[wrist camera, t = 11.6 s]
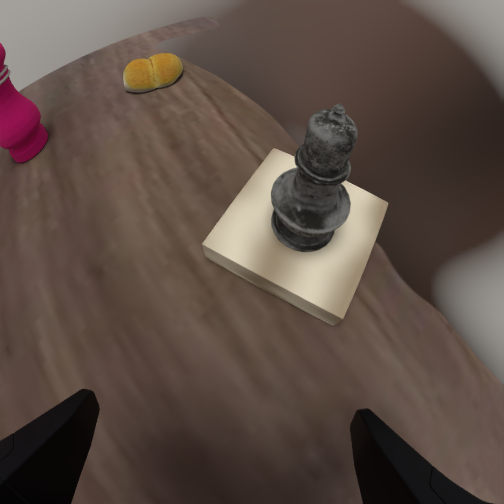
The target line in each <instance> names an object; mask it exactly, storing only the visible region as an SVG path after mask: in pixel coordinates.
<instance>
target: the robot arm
mask: <svg viewBox="0 0 504 504" xmlns="http://www.w3.org/2000/svg"><path fill="white" fill-rule="evenodd" d="M99 410H100V408H99V404H98V401H97V399H96V396H95V394H94V392H93V391H92V390H88V389H81V390H79V391H78V392H76V393H75V394H73V395H72V396H70V397H69V398H67V399H66V400H64V401H63V402H61V403H60V404H58V405H56V406H55V407H53V408H52V409H50V410H49V411H47V412H46V413H44V414H42V415H41V416H39V417H38V418H36V419H35V420H33V421H32V422H30V423H28V424H27V425H25V426H24V427H22V428H21V429H19V430H17V431H16V432H15V434H14V433H13V434H11V435H9V436H8V437H6V438H4V439H3V440H1V441H0V504H71V502H72V499H73V496H74V493H75V490H76V487H77V484H78V481H79V478H80V475H81V472H82V469H83V466H84V463H85V461H86V458H87V455H88V452H89V449H90V446H91V443H92V439H93V435H94V431H95V427H96V423H97V419H98V415H99ZM350 432H351V441H352V449H353V459H354V466H355V471H356V475H357V479H358V483H359V488H360V492H361V497H362V501H363V504H492V503H488V502H485V501H482V500H481V499H479V498H477V497H476V496H474V495H472V494H471V493H469V492H468V491H466V490H464V489H463V488H461V487H460V486H458V485H457V484H455V483H454V482H453V481H451V480H450V479H448V478H447V477H446V476H445V475H443V474H442V473H441V472H440V471H438V470H437V469H436V468H435V467H434V466H432V465H431V464H430V463H429V462H428V461H427V460H426V459H425V458H423V457H422V456H421V455H420V454H419V453H418V452H417V451H415V450H414V449H413V448H412V447H411V446H410V445H409V444H408V443H406V442H405V441H404V440H403V439H402V438H401V437H400V436H399V435H398V434H396V433H395V432H394V431H393V430H392V429H391V428H390V427H389V426H388V425H386V424H385V423H384V422H383V421H382V420H381V419H380V418H379V417H378V416H377V415H376V414H374V413H373V412H372V411H371V410H370V409H368V408H365V409H358V410H357V411H356V413H355V415H354V417H353V420H352V422H351V425H350Z"/></svg>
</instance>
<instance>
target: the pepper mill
mask: <svg viewBox="0 0 504 504" xmlns="http://www.w3.org/2000/svg"><path fill="white" fill-rule="evenodd" d="M5 55H6V54H5V49H4V47H3V46H2V44H1V43H0V146H1V147H2V148H5V149H9V152H10V155H11V156H12V157H13V159H14V160H15V161H16V162H18V163H22V162H26V161H28V160H30V159H31V158H33V157H34V156H35V155H36V154H38V153H39V152H40V150H41V149H42V148H43V147H44V145H45V144H46V142H47V139H48V133H47V131H46V130H45V128H44V126H43V125H42V124H40V118H41V115H40V111H39V110H38V108H37V107H36V105H35V104H34V103H33V102H32V101H30V100H29V99H27V98H26V97H24V96H23V95H21V94H20V93H19V92H18V91H17V90H16V89H15V88H14V86H13V84H12V83H11V81H10V78H9V75H10V70H8V66H7V65H4V59H5Z"/></svg>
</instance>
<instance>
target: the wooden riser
mask: <svg viewBox="0 0 504 504" xmlns="http://www.w3.org/2000/svg"><path fill="white" fill-rule="evenodd" d="M294 158H295V157H294V156H291V155H289V154H287V153H284V152H282V151H280V150H277V149H275V148H273V150H272V151H271V152H270V154H269V155H268V156H267V157H266V159H265V160H264V161H263V163H262V164H261V165H260V167H259V168H258V169H257V171H256V172H255V173H254V174H253V176H252V177H251V178H250V180H249V181H248V182H247V184H246V185H245V186H244V188H243V189H242V190H241V192H240V193H239V194H238V196H237V197H236V198H235V200H234V201H233V202H232V204H231V205H230V207H229V208H228V209H227V211H226V212H225V213H224V215H223V216H222V217H221V219H220V220H219V222H218V223H217V224H216V226H215V227H214V228H213V230H212V231H211V233H210V234H209V235H208V237H207V238H206V240H205V241H204V242H203V244H202V245H203V249H204V253H205V257H206V258H207V259H209V260H211V261H213V262H214V263H216V264H218V265H220V266H222V267H224V268H225V269H227V270H229V271H231V272H233V273H234V274H236V275H238V276H240V277H242V278H244V279H245V280H247V281H249V282H251V283H253V284H255V285H256V286H258V287H260V288H262V289H264V290H266V291H268V292H269V293H271V294H273V295H275V296H277V297H279V298H281V299H283V300H284V301H286V302H288V303H290V304H292V305H294V306H296V307H298V308H300V309H301V310H303V311H305V312H307V313H309V314H311V315H313V316H315V317H317V318H319V319H321V320H322V321H324V322H326V323H328V324H330V325H332V326H335V325H336V324H337V323H338V322H340V321H341V320H342V319H343V318H344V316H345V313H346V311H347V309H348V307H349V304H350V302H351V300H352V298H353V295H354V293H355V291H356V288H357V286H358V283H359V281H360V279H361V276H362V274H363V271H364V269H365V266H366V264H367V261H368V259H369V256H370V253H371V251H372V248H373V246H374V243H375V240H376V237H377V234H378V232H379V229H380V226H381V224H382V220H383V218H384V215H385V212H386V209H387V206H388V203H387V202H385V201H384V200H382V199H380V198H378V197H376V196H374V195H372V194H371V193H369V192H367V191H365V190H363V189H361V188H359V187H357V186H355V185H353V184H351V183H349V182H347V181H344V182H342V184H343V185H344V187H345V188H346V190H347V192H348V194H349V197H350V202H351V207H350V213H349V215H348V218H347V220H346V221H345V222H344V223H343V224H342V225H341V227H339V228H337V229H336V230H335V231H334V235H333V237H332V239H331V241H330V242H329V243H328V244H327V245H326V246H325V247H323V248H321V249H320V250H317V251H313V252H300V251H296V250H293V249H291V248H289V247H287V246H285V245H284V244H283V243H281V242H280V241H279V240H278V238H277V237H276V236H275V234H274V232H273V229H272V226H271V217H272V213H273V210H274V208H273V205H272V202H271V190H272V186H273V184H274V182H275V181H276V179H277V178H278V177H279V176H280V175H281V174H282V173H284V172H285V171H288V170H290V169H292V168H297V167H296V165H295V159H294Z"/></svg>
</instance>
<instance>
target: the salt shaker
mask: <svg viewBox="0 0 504 504" xmlns="http://www.w3.org/2000/svg"><path fill="white" fill-rule="evenodd" d="M344 112H345V109H344V108H343V106H342V104H340V103H339V104H337V105H336V106H333V110H331V109H324V110H320V111H318V112H316V113H315V114H313V115H312V117H311V118H310V120H309V123H308V127H307V132H306V137H305V141H304V144H303V145H302V146H300V147H299V148H298V149H297V151H296V153H295V158H294V159H295V165H296V167H297V168H292V169H290V170H288V171H285V172H284V173H282V174H281V175H280V176H279V177H278V178H277V179H276V181H275V182H274V184H273V186H272V190H271V202H272V205H273V208H274V210H273V213H272V217H271V226H272V229H273V232H274V234H275V236H276V237H277V238H278V240H279V241H280V242H281V243H283V244H284V245H285V246H287V247H289V248H291V249H293V250H296V251H300V252H313V251H317V250H320V249H321V248H323V247H325V246H326V245H327V244H328V243H329V242H330V241H331V239H332V237H333V235H334V231H335V230H336V229H337V228H339V227H341V225H342V224H343V223H344V222H345V221H346V220H347V218H348V215H349V213H350V207H351V202H350V197H349V194H348V192H347V190H346V188H345V187H344V185H343V184H342V182H344V181H345V180H346V179H347V178H348V176H349V174H350V171H351V166H350V162H349V158H350V155H351V153H352V150H353V148H354V145H355V143H356V140H357V128H356V126H355V124H354V122H353V121H352V119H351V118H350V117H348V116H347V115H345V114H344Z"/></svg>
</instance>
